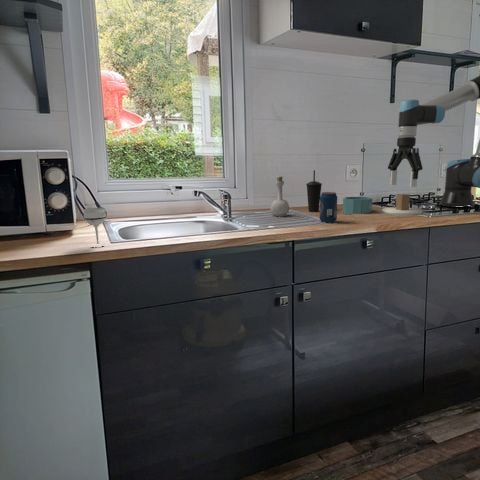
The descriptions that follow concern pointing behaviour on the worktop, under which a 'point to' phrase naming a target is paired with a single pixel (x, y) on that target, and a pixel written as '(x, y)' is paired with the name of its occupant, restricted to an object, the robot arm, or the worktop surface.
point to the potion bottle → (279, 201)
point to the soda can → (328, 207)
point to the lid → (402, 206)
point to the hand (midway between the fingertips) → (402, 185)
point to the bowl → (357, 205)
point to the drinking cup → (313, 195)
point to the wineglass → (95, 217)
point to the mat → (403, 215)
